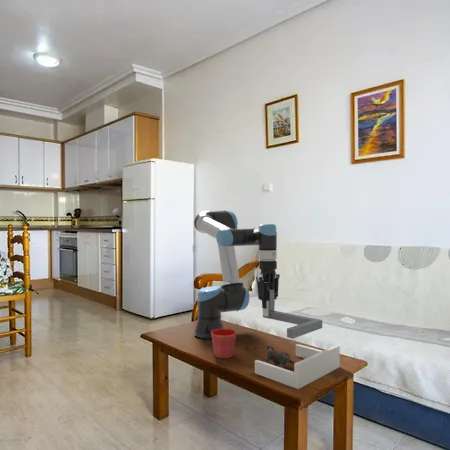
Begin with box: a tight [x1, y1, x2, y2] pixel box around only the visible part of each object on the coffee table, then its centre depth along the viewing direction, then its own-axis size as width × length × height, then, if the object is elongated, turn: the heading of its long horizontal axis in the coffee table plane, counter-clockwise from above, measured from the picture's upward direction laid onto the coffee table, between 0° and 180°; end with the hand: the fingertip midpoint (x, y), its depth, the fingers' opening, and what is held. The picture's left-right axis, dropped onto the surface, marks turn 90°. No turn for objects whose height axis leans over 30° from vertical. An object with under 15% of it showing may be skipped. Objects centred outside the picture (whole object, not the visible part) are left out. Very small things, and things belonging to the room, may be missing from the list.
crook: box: [262, 289, 323, 340], centre depth 145 cm, size 27×19×12 cm
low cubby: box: [254, 343, 341, 390], centre depth 139 cm, size 19×27×8 cm
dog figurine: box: [264, 345, 296, 369], centre depth 142 cm, size 12×6×7 cm, turn 47°
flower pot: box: [211, 328, 237, 359], centre depth 156 cm, size 11×11×10 cm
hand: (268, 314), depth 159 cm, fingers closed on crook, 3 cm apart
